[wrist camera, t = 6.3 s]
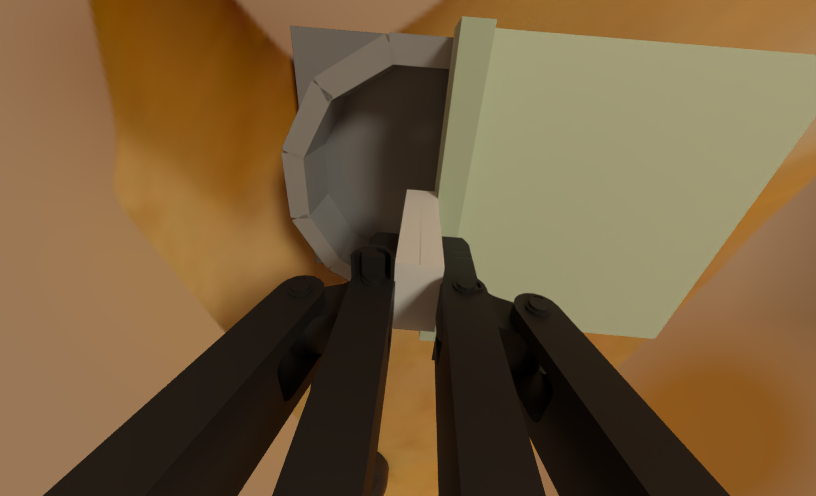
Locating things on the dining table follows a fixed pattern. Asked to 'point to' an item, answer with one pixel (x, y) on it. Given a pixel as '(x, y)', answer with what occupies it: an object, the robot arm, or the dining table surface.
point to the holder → (361, 134)
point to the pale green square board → (608, 163)
